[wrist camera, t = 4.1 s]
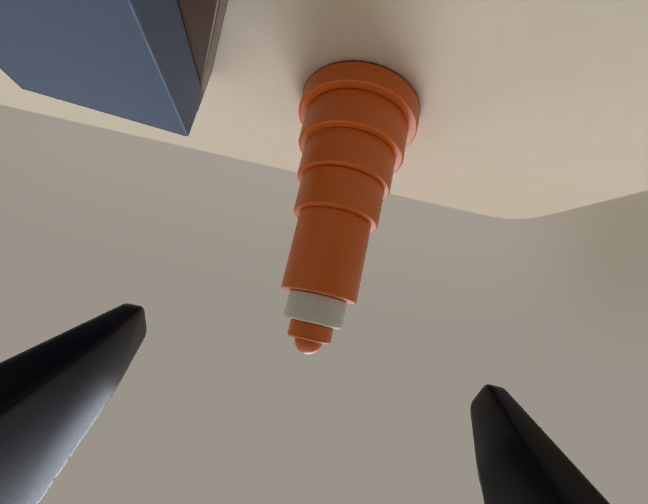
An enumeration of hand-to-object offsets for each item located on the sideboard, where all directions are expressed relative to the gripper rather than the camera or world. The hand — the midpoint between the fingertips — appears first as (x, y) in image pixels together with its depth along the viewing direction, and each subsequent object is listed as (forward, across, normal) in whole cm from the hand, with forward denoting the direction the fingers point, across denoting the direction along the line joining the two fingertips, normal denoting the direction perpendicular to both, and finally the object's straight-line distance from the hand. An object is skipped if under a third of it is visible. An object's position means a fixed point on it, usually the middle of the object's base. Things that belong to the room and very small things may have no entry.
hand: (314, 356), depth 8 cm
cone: (+12, 0, -4) cm, 13 cm away
